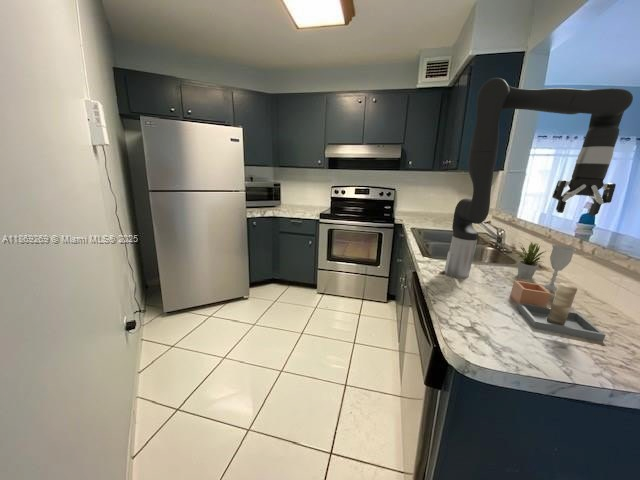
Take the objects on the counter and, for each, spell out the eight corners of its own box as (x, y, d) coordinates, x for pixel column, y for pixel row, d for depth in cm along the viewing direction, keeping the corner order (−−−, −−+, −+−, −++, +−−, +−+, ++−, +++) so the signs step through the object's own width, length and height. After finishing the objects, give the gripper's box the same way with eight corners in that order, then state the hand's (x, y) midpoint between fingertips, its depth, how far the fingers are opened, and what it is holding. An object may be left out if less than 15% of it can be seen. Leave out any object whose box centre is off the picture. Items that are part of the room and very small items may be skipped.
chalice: (566, 295, 98) (581, 251, 94) (546, 293, 100) (560, 249, 95) (553, 287, 105) (567, 245, 101) (534, 285, 107) (547, 244, 102)
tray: (532, 330, 74) (535, 321, 73) (516, 310, 85) (518, 302, 85) (601, 344, 70) (605, 335, 69) (575, 321, 81) (578, 312, 80)
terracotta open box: (517, 307, 87) (523, 289, 85) (509, 297, 94) (514, 280, 92) (544, 312, 85) (550, 293, 83) (533, 302, 92) (539, 284, 90)
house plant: (501, 266, 127) (510, 235, 122) (536, 273, 121) (546, 239, 116) (507, 276, 114) (517, 241, 110) (546, 284, 108) (558, 247, 104)
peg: (550, 324, 76) (563, 287, 73) (544, 317, 80) (555, 282, 77) (567, 327, 75) (580, 290, 72) (559, 320, 79) (572, 284, 75)
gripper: (571, 161, 79) (555, 213, 83) (631, 163, 75) (611, 218, 79) (558, 162, 86) (544, 210, 90) (612, 164, 82) (595, 214, 86)
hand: (575, 213), depth 85 cm, fingers open, 8 cm apart
